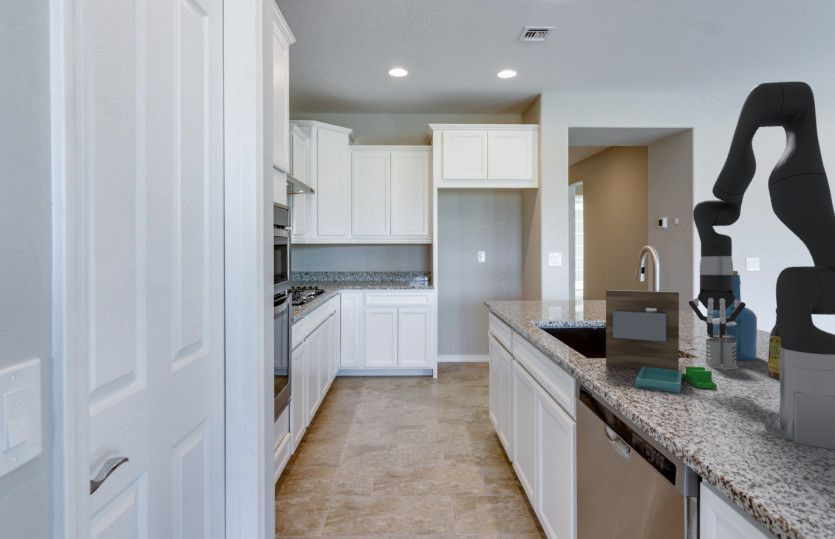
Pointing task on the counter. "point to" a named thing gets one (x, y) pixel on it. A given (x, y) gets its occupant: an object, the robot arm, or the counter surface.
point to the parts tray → (659, 379)
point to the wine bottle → (740, 326)
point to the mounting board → (643, 351)
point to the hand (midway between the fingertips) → (716, 336)
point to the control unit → (640, 324)
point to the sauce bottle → (774, 352)
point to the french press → (721, 349)
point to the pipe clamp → (699, 377)
